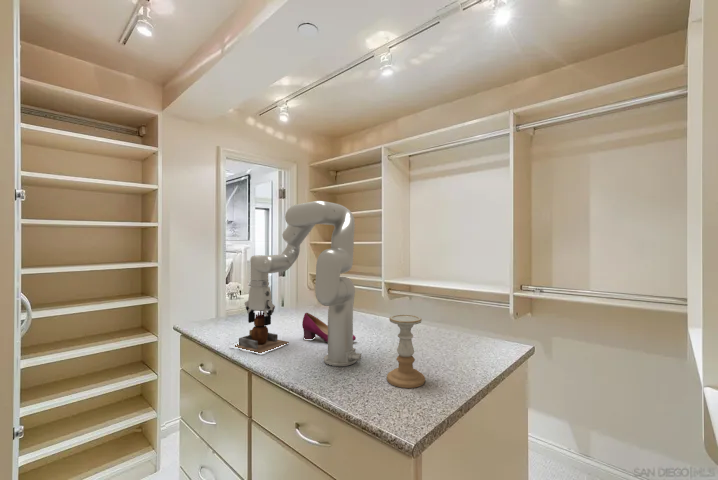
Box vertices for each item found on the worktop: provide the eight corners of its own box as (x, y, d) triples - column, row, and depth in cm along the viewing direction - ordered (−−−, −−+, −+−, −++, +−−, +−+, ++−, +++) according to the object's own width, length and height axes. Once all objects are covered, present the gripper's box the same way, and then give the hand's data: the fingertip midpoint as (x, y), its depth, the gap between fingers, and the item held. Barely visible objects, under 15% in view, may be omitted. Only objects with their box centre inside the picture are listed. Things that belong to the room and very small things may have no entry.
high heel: (353, 346, 140) (353, 317, 140) (297, 342, 145) (297, 315, 145) (357, 340, 148) (357, 313, 149) (305, 337, 154) (305, 311, 154)
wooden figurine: (270, 341, 142) (269, 307, 143) (264, 345, 137) (264, 310, 137) (255, 341, 143) (255, 307, 143) (249, 345, 137) (249, 309, 138)
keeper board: (288, 344, 142) (288, 330, 142) (260, 355, 128) (260, 339, 128) (258, 338, 152) (258, 325, 152) (229, 347, 138) (229, 333, 138)
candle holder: (378, 380, 105) (378, 317, 105) (402, 369, 114) (402, 312, 114) (409, 392, 96) (409, 324, 96) (432, 380, 105) (432, 317, 105)
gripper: (280, 284, 139) (280, 324, 139) (252, 281, 148) (252, 319, 148) (267, 286, 133) (267, 328, 133) (238, 283, 141) (238, 322, 141)
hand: (259, 323), depth 140 cm, fingers open, 9 cm apart
